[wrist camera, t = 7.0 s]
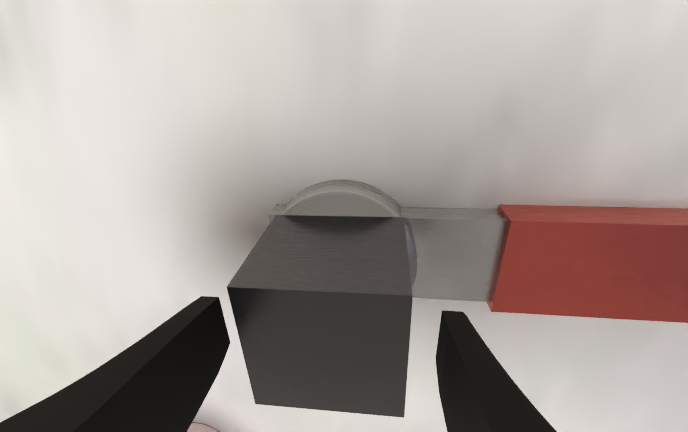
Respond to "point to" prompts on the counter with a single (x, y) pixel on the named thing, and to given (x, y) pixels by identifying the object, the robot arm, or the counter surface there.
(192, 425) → the smoothie
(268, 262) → the charcoal grey cube
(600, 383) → the counter surface
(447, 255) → the ratchet
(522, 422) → the robot arm
